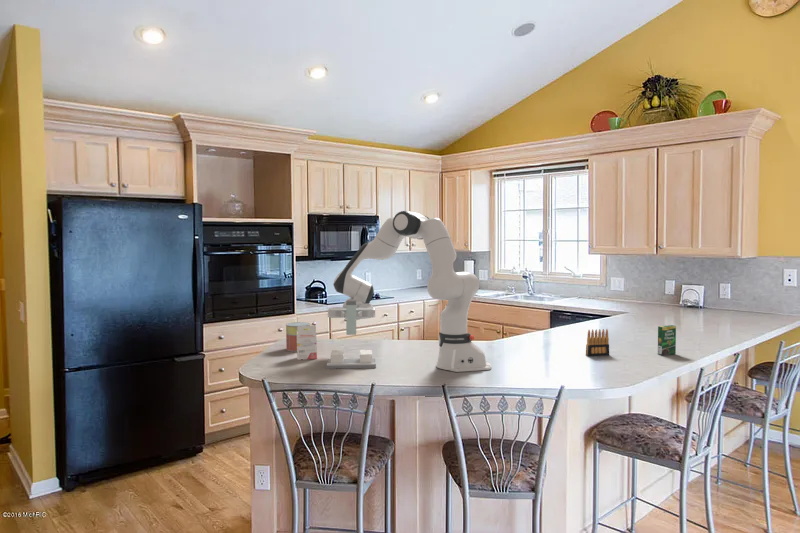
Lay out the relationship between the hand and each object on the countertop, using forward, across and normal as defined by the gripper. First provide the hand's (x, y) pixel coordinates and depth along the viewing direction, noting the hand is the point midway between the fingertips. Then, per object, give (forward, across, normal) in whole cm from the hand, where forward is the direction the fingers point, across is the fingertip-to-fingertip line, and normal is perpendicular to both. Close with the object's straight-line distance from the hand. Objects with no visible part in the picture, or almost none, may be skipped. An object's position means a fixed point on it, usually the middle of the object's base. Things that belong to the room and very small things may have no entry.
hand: (351, 315), depth 237 cm
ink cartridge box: (-14, -20, +21) cm, 33 cm away
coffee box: (-11, +142, +21) cm, 144 cm away
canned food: (-34, -26, +21) cm, 48 cm away
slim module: (-1, 0, +8) cm, 8 cm away
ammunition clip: (-11, +110, +21) cm, 113 cm away
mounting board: (0, 0, +21) cm, 21 cm away
